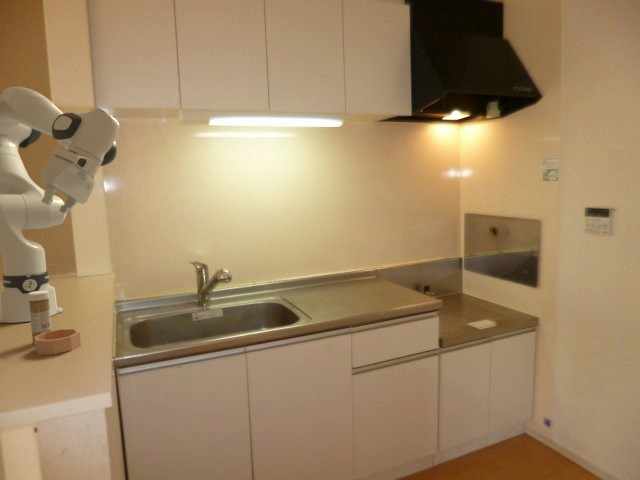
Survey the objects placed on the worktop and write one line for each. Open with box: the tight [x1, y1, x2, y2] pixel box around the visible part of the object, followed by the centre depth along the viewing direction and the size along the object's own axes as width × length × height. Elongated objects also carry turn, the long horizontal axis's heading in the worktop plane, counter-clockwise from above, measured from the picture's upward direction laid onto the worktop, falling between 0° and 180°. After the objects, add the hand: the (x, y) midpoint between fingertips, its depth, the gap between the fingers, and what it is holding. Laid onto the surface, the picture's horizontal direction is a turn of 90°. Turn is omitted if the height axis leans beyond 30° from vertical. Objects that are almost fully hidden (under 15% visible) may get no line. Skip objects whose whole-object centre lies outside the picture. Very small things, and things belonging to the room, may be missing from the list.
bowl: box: [34, 328, 82, 356], centre depth 107 cm, size 9×9×4 cm
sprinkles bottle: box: [28, 290, 52, 345], centre depth 111 cm, size 5×5×13 cm
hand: (54, 208), depth 114 cm, fingers open, 8 cm apart
